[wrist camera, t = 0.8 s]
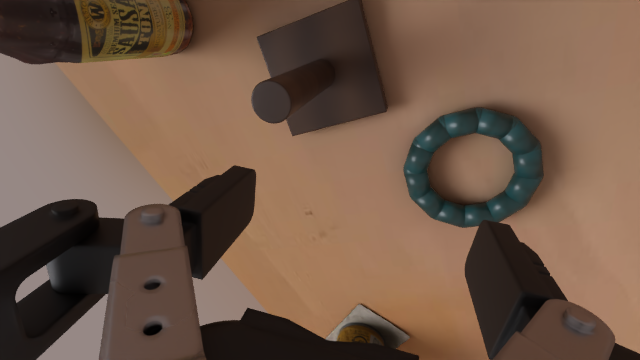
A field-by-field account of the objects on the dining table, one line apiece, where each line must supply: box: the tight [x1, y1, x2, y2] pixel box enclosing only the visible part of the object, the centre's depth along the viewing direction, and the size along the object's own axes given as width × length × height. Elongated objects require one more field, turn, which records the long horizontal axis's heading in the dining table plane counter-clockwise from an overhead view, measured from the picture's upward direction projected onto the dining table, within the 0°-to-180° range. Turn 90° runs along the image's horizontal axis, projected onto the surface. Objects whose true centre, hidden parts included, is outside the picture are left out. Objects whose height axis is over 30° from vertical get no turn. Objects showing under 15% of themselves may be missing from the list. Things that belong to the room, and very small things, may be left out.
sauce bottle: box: [0, 0, 193, 64], centre depth 22 cm, size 7×6×20 cm
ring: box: [404, 107, 543, 228], centre depth 29 cm, size 11×11×2 cm
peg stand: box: [251, 0, 388, 136], centre depth 24 cm, size 9×9×12 cm
